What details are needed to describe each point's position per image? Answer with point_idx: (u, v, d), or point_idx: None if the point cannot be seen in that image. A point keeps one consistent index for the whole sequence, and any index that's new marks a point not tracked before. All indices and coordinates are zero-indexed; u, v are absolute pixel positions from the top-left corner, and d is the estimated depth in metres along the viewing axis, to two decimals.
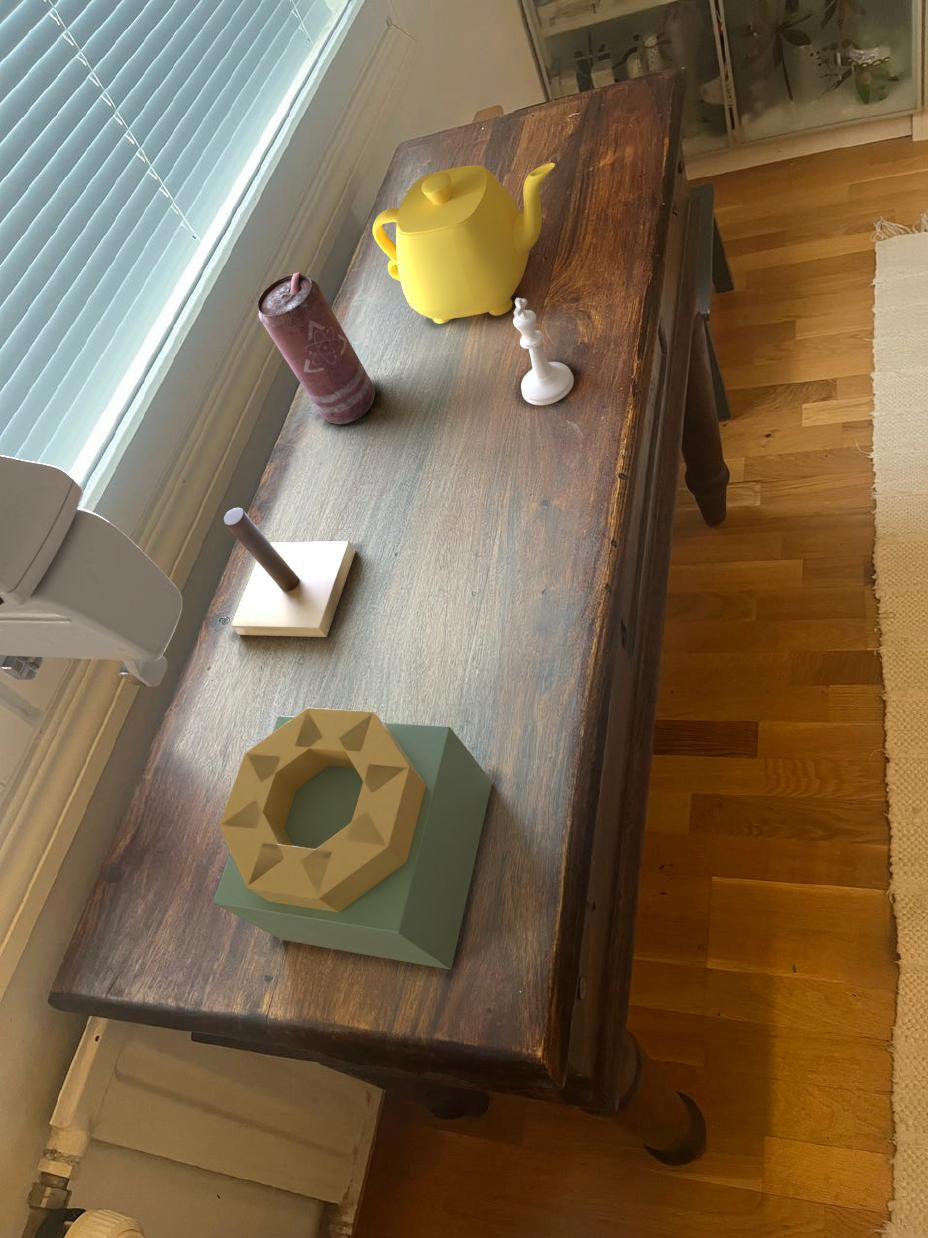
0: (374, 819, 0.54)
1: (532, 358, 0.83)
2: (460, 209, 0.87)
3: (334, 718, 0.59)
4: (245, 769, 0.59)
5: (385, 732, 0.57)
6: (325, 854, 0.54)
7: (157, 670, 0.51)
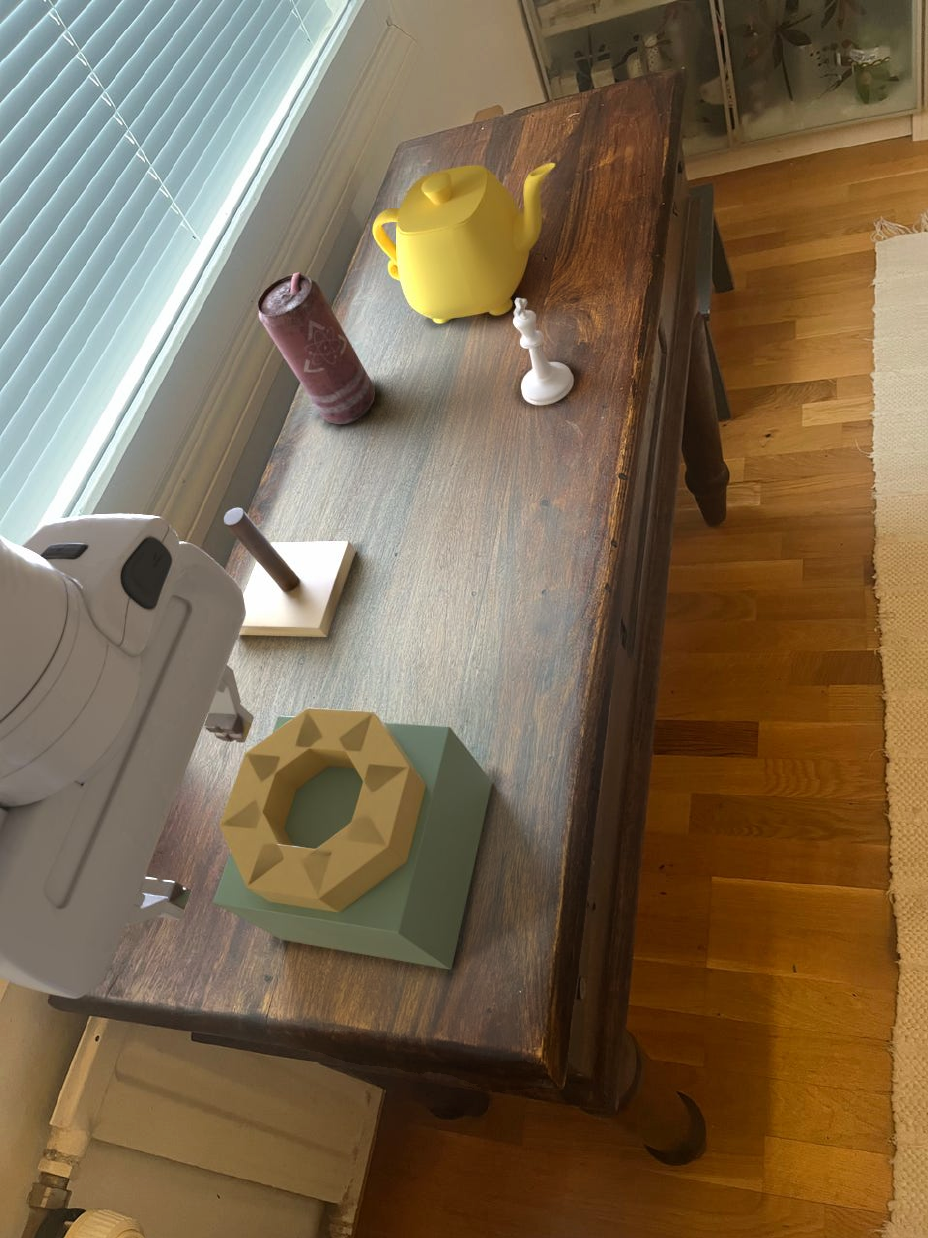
0: (374, 819, 0.54)
1: (532, 358, 0.83)
2: (460, 209, 0.87)
3: (334, 718, 0.59)
4: (245, 769, 0.59)
5: (385, 732, 0.57)
6: (325, 854, 0.54)
7: None
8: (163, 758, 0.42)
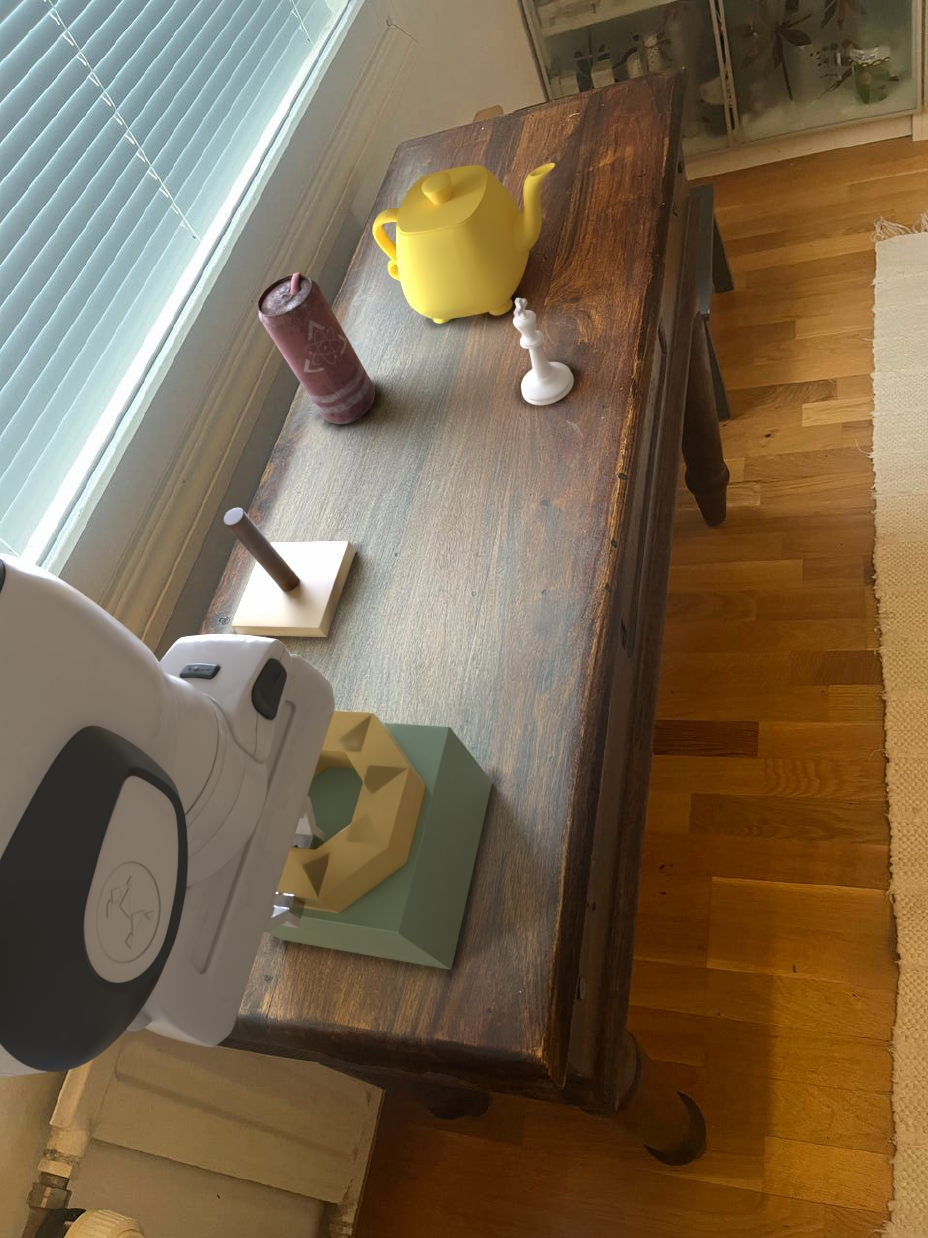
0: (374, 820, 0.54)
1: (532, 358, 0.83)
2: (460, 209, 0.87)
3: (334, 719, 0.59)
4: None
5: (385, 733, 0.57)
6: (325, 855, 0.54)
7: None
8: (275, 839, 0.49)
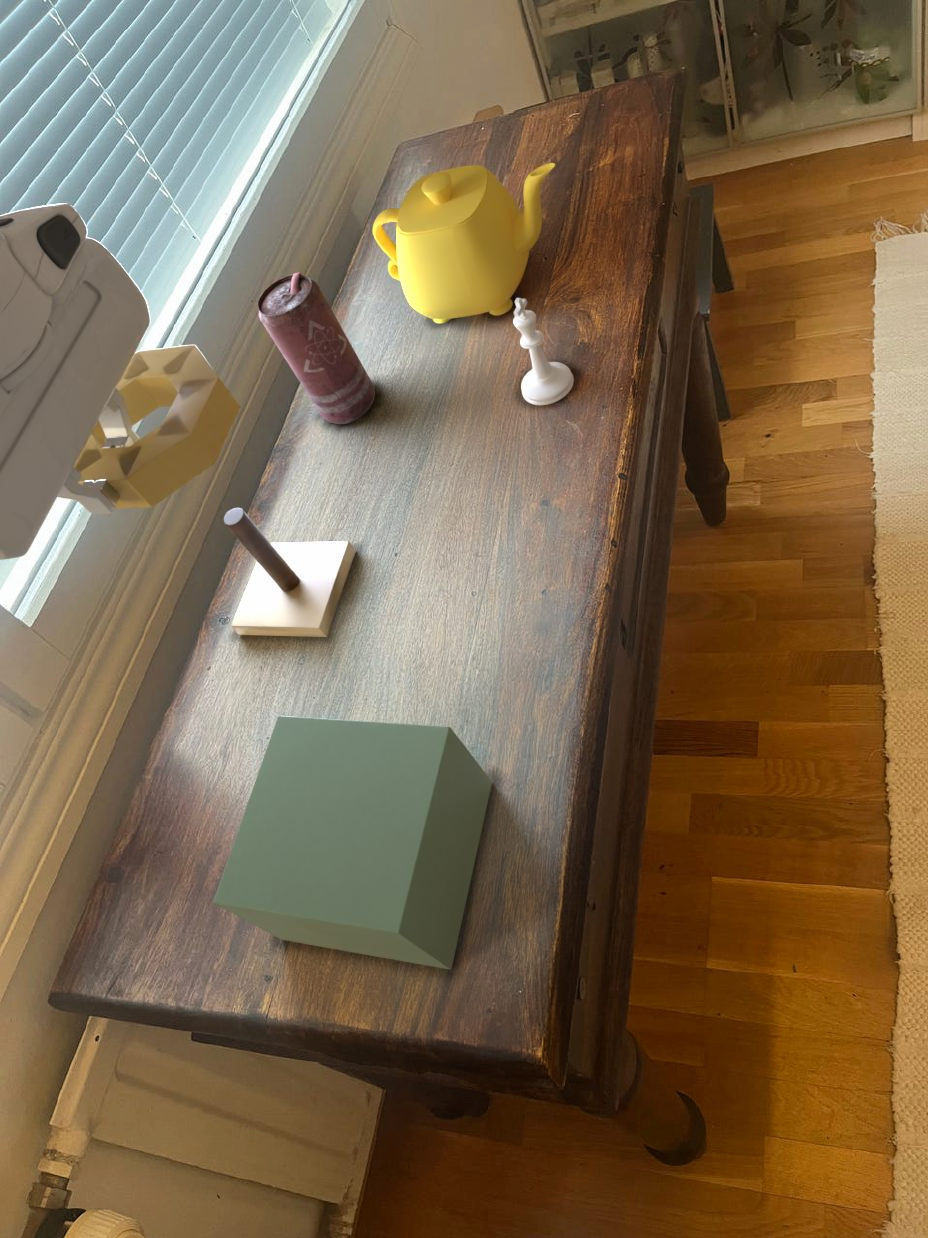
0: (182, 417, 0.59)
1: (532, 358, 0.83)
2: (460, 209, 0.87)
3: (160, 354, 0.64)
4: None
5: (202, 356, 0.62)
6: (137, 448, 0.59)
7: None
8: (76, 403, 0.54)
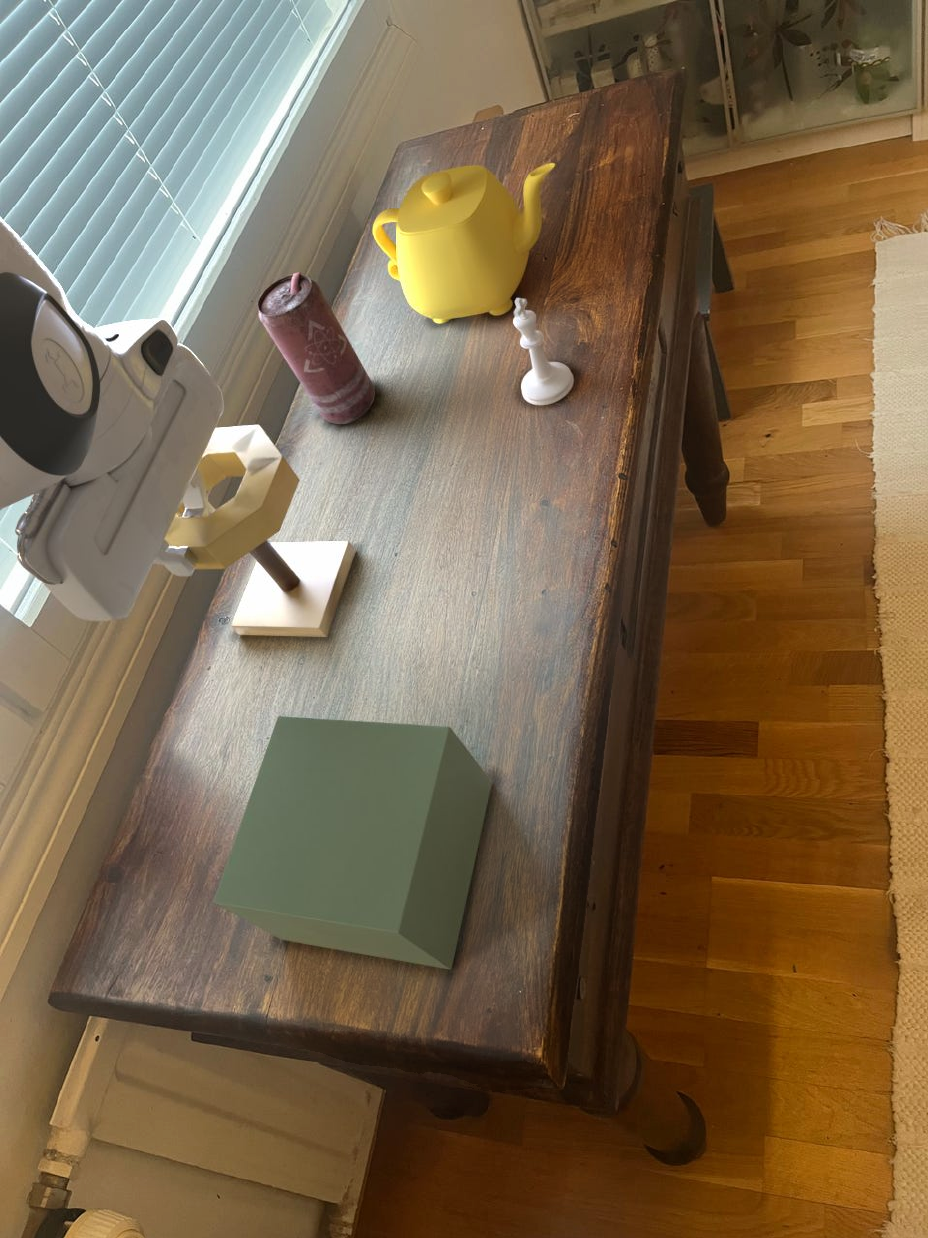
0: (252, 492, 0.68)
1: (532, 358, 0.83)
2: (460, 209, 0.87)
3: (229, 432, 0.73)
4: None
5: (266, 436, 0.71)
6: (213, 518, 0.68)
7: None
8: (167, 484, 0.64)
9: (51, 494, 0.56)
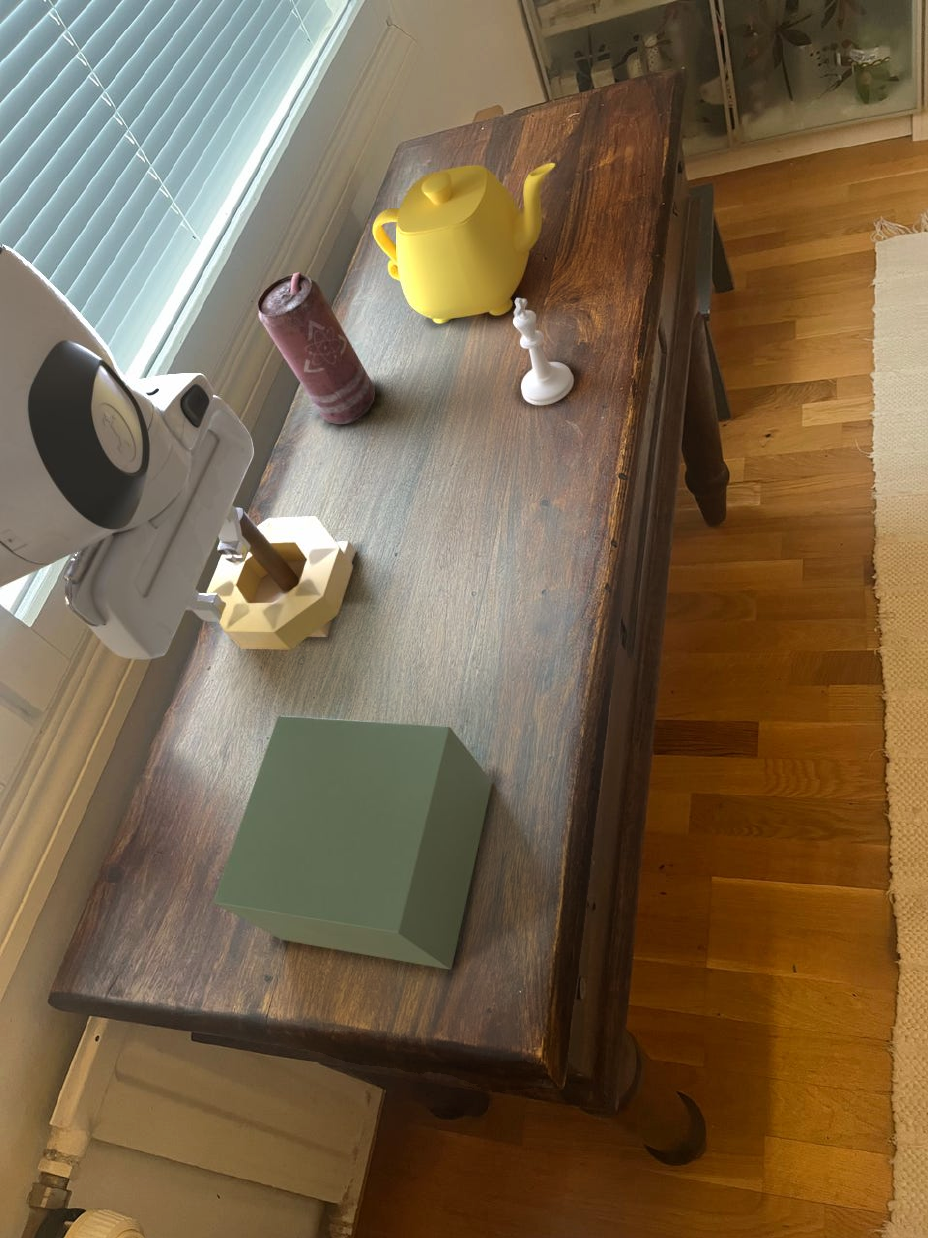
0: (314, 581, 0.76)
1: (532, 358, 0.83)
2: (460, 209, 0.87)
3: (287, 522, 0.81)
4: (223, 560, 0.81)
5: (323, 527, 0.79)
6: (279, 605, 0.76)
7: None
8: (202, 528, 0.67)
9: (96, 541, 0.60)
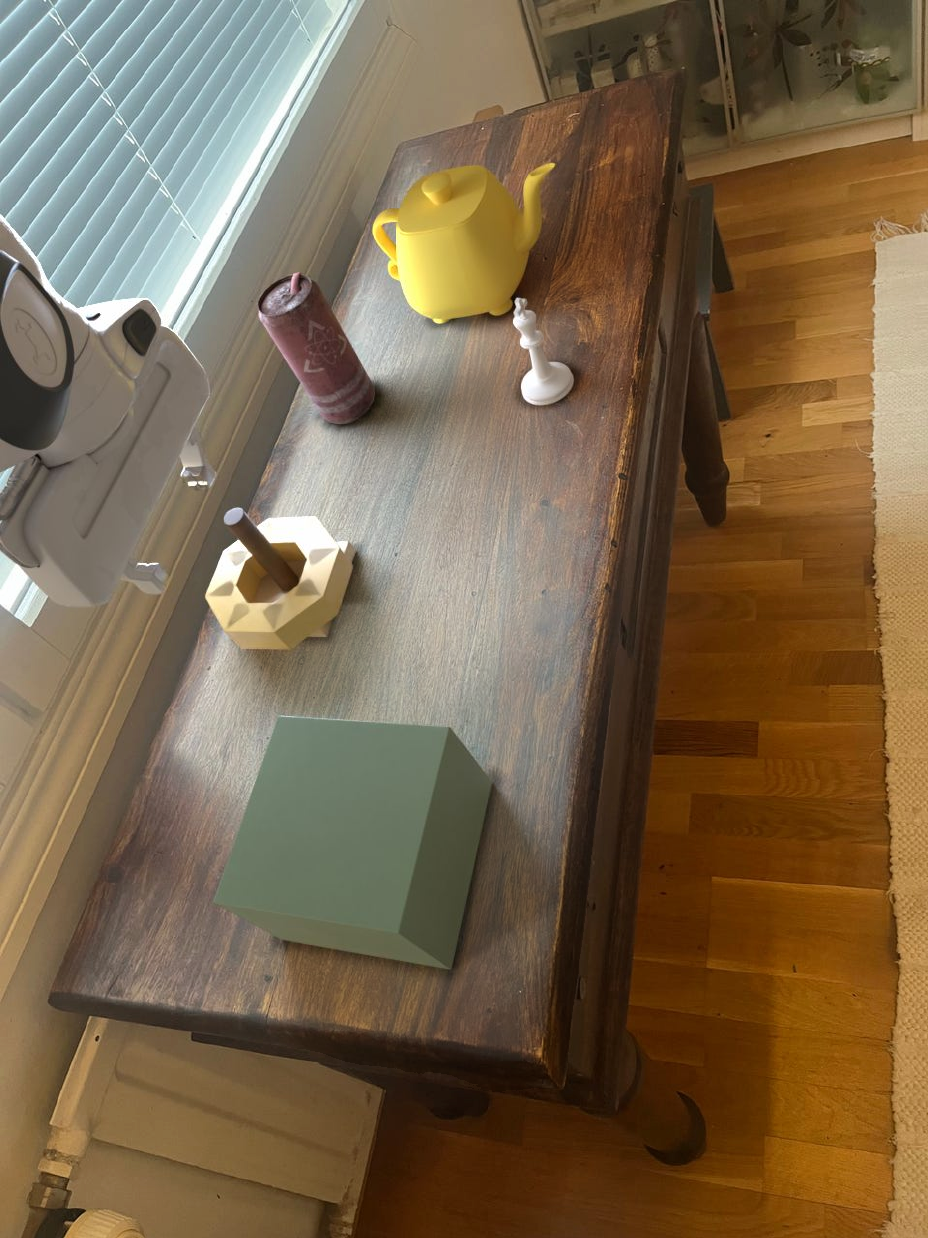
0: (314, 581, 0.76)
1: (532, 358, 0.83)
2: (460, 209, 0.87)
3: (287, 522, 0.81)
4: (223, 560, 0.81)
5: (323, 527, 0.79)
6: (279, 605, 0.76)
7: None
8: (150, 468, 0.62)
9: (28, 475, 0.55)
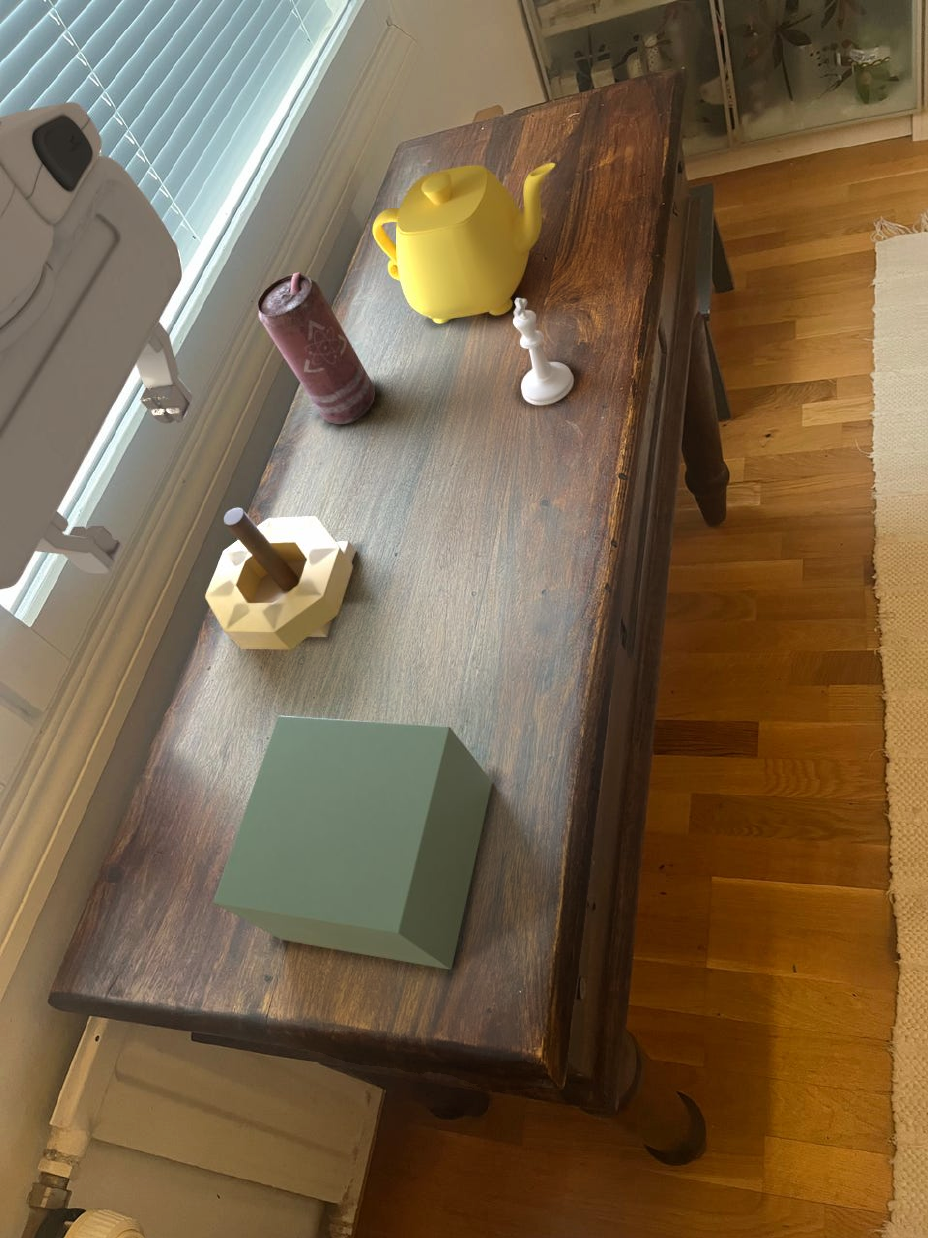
0: (314, 581, 0.76)
1: (532, 358, 0.83)
2: (460, 209, 0.87)
3: (287, 522, 0.81)
4: (223, 560, 0.81)
5: (323, 527, 0.79)
6: (279, 605, 0.76)
7: None
8: (87, 378, 0.40)
9: None
